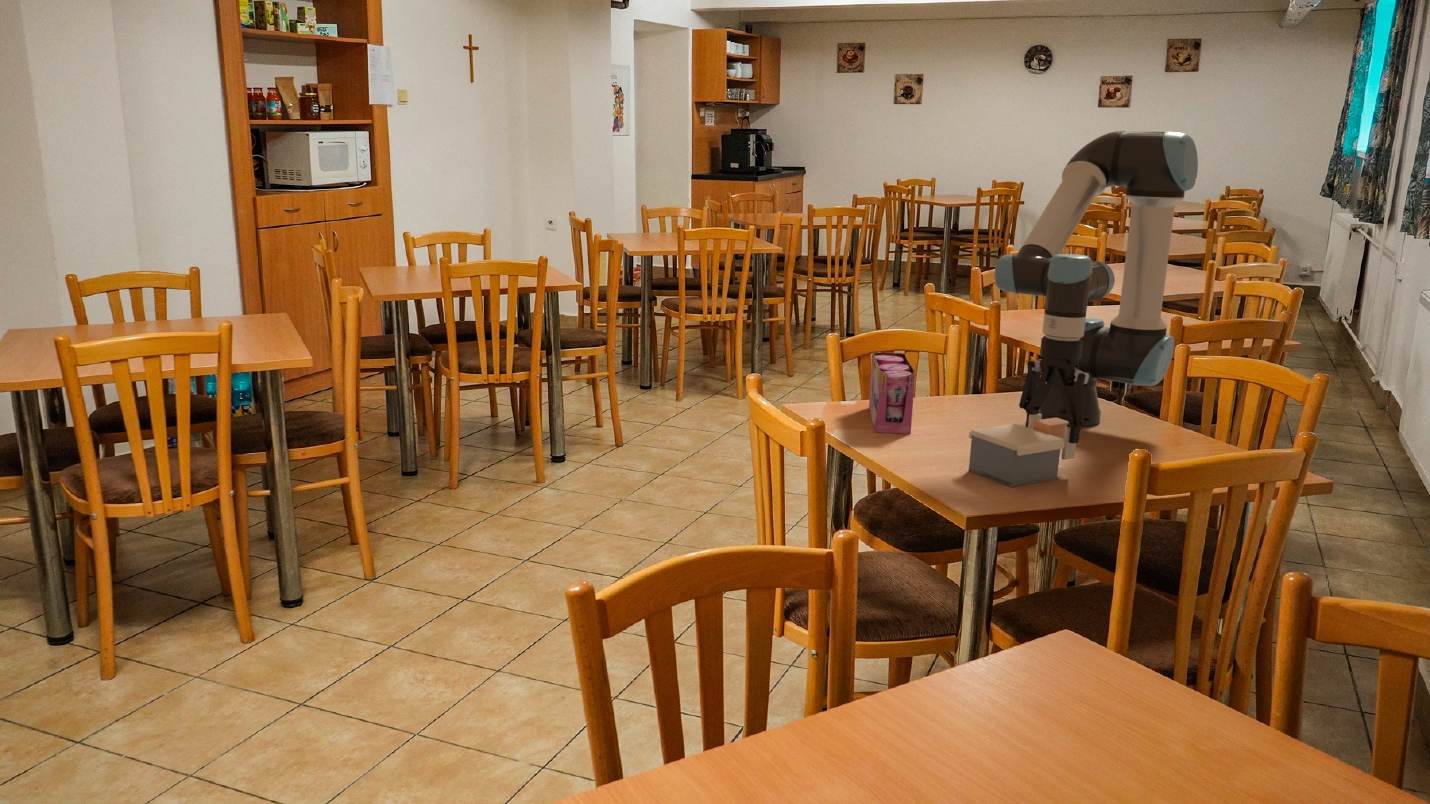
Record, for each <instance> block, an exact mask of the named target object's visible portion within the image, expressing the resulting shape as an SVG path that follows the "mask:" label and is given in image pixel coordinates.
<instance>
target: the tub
mask: <svg viewBox="0 0 1430 804" xmlns="http://www.w3.org/2000/svg"><path fill="white" fill-rule="evenodd" d="M970 441H971V442H970V453H969V464H968V472H971V473H974V474H976V475H978V476H981V477H983V478H986V479H989V480H991V481H994V482H996V483H999V484H1000V485H1004V486H1007V487H1009V488H1014V487H1015V488H1016V487H1020V486H1026V485H1030V484H1031V485H1032V484H1037V483H1042V482H1048V481H1052V480H1053V481H1054V480H1058V474H1059V473H1058V472H1059V464H1060V455H1061V449H1057V450H1051V451H1045V452H1039V453H1033V454H1027V455H1021V456H1018V455H1017V451H1015V450H1012V449H1009V448H1007V447H1004V446H1001V445H998V444H995V443H992V442H990V441H987V440H984V439H981V438H978V437H975V436H972V439H971V440H970Z"/></svg>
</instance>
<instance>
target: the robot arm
mask: <svg viewBox="0 0 1430 804" xmlns="http://www.w3.org/2000/svg"><path fill="white" fill-rule="evenodd" d="M1198 160H1199V158H1198V151H1197V146H1196V144H1195V140H1194V139H1193V137H1191V135H1189V134H1188V133H1185V132H1174V131H1169V130H1167V131H1127V130H1119V131H1118V130H1117V131H1112V132H1108V133H1106V134H1105V133H1104V134H1102V135H1101V136H1098V137H1097V138H1095V139H1093V140H1092V141H1090V142H1088V143H1087V144H1085V145H1084V146H1082V148H1080V149H1079V150H1078V151H1077V152H1076V153H1075V154H1074V155H1073V156H1072V157H1071V158H1070V160H1069V161H1068V162H1067V164H1066V165H1065V167H1064V169H1063V170H1062V173H1061V180H1062V181H1060V184H1059V186H1058V188H1057V189H1056V190H1055V192H1054V193H1053V195H1052V196H1051V199H1050V200H1049V201H1048V204H1047V205H1046V207H1045V208H1044V209H1043V211H1042V213H1041V215H1040V216H1039V218H1038V220H1037V222H1036V223H1035V225H1034V226H1033V228H1032V229H1031V231H1030V233H1029V234H1028V236H1027V237H1026V239H1025V241H1024V242H1023V244H1022V246H1021V247H1020V248H1019V250H1018V252H1017V253H1016V254H1014V253H1011V254H1004V255H1002V256H1000V257H999V259H997V262H996V264H995V268H994V275H993V276H994V282H995V286H996V287H997V289H999V290H1000V291H1003V292H1008V293H1014V294H1017V295H1018V294H1021V295H1032V296H1039V297H1041V296H1042V297H1045V306H1044V310H1043V311H1044V313H1043V314H1044V315H1043V323H1042V334H1043V335H1044V336H1042V337H1041V339H1040V349H1039V355H1040V356H1041V359H1035V360H1028V361H1027V373H1026V378H1025V381H1024V385H1023V389H1022V393H1021V397H1020V399H1019V404H1018V407H1019V408H1020V409H1023V410H1024V411H1025V413H1026V420H1025V421H1026V422H1025V427H1027V428H1031V429H1033V426H1034V421H1035V420H1042V419H1049V418H1059V419H1063V420H1066V421H1068V422H1069V424H1068V425H1066V426H1065V431H1064V439H1063V442H1065V445H1064V448H1063V449H1061V450H1062V451H1061V458H1060V459H1061V460H1063V461H1066V460H1072V459H1075V454H1076V449H1077V447H1076V446H1077V444H1078V443H1079V442H1080V434H1081V428H1082V427H1083V426H1094V425H1097V424H1099V423H1100V422H1101V414H1102V412H1101V411H1102V410H1101V409H1100V406H1099V405H1100V403H1099V398H1098V392H1097V379H1099V380H1104V381H1105V380H1107V381H1110V382H1111V381H1112V382H1119V383H1123V384H1124V383H1125V384H1130V385H1133V386H1143V387H1153V386H1154V387H1155V386H1156V385H1157V384H1159V383H1160V382H1161V381H1162V380H1163V379H1164V377H1165V375H1166V374H1167V371H1168V370H1169V367H1170V365H1171V362H1172V359H1173V355H1174V351H1175V338H1174V337H1173V336H1172V335H1170V334H1167V331H1168V325H1167V324H1166V322H1165V321H1163V319H1162V311H1163V310H1162V309H1163V302H1164V293H1165V287H1166V286H1165V285H1166V277H1167V269H1168V263H1169V262H1168V261H1169V255H1170V247H1171V240H1172V239H1171V238H1172V232H1173V224H1174V223H1173V222H1174V219H1175V218H1174V217H1175V209H1176V206H1177V205H1178V204H1179V203H1180V202H1181V201H1183V200H1184V198H1185V192H1187V191H1190V190H1192V189H1193V188H1194V186H1195V184H1196V181H1197V177H1198V169H1199V161H1198ZM1110 187H1119V188H1125V194H1124V195H1125V197H1126V199H1127V200H1128V201H1129V202H1130V204H1131V210H1130V216H1129V226H1128V232H1127V233H1128V234H1127V241H1126V243H1127V244H1126V252H1125V259H1124V268H1123V277H1122V282H1121V283H1122V284H1121V285H1122V286H1121V294H1120V302H1119V310H1118V314H1117V315H1116V316H1115V317H1114V318H1112V320H1110V324H1109V327H1105V323H1104V320H1103V319H1100V318H1086V317H1087V311H1088V304H1089V303H1088V302H1095V301H1098V300H1101V299H1103V298H1104V297H1107V295H1109V294H1110V293H1111V292H1112V290H1113V288H1114V286H1115V283H1116V282H1115V280H1116V279H1115V274H1114V271H1113V269H1112V268H1111V267H1110V266H1109V265H1108V264H1107V263H1105V262H1102V261H1096V260H1092V259H1091V257H1090V256H1088V255H1084V254H1077V253H1075V254H1074V253H1062V252H1063V251H1064V248H1066V245H1067V244H1068V242H1069V241H1070V239H1071V237H1072V236H1073V234H1074V232H1075V230H1076V228H1077V227H1078V225H1079V224H1080V222H1081V220H1082V218H1083V217H1084V215H1085V214H1086V212H1087V210H1088V209H1089V207H1090V206H1091V204H1092V202H1093V201H1094V198H1096V197H1099V196H1100V195H1102V194H1103V193H1104V191H1105V189H1106V188H1110Z"/></svg>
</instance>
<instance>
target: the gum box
mask: <svg viewBox="0 0 1430 804" xmlns="http://www.w3.org/2000/svg"><path fill="white" fill-rule="evenodd" d="M871 354H872V355H871V367H870V383H869V384H870V385H869V398H868V399H869V402H868V410H869V413H870V418H871V420H872V421H871V422H872V424H873V427H874V432H875V433H885V434H887V433H888V434H890V433H891V434H904V435H905V434H906V435H911V432H912V420H913V410H914V409H913V407H914V395H915V374H916V373H915V369H914V367H913V366H912V365H911V363H910V361H909V360H908V358H907V356H906V353H905V352H904V353H903V352H900V353H899V352H882V351H881V352H879V351H877V352H876V351H874V352H872V353H871Z"/></svg>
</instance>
